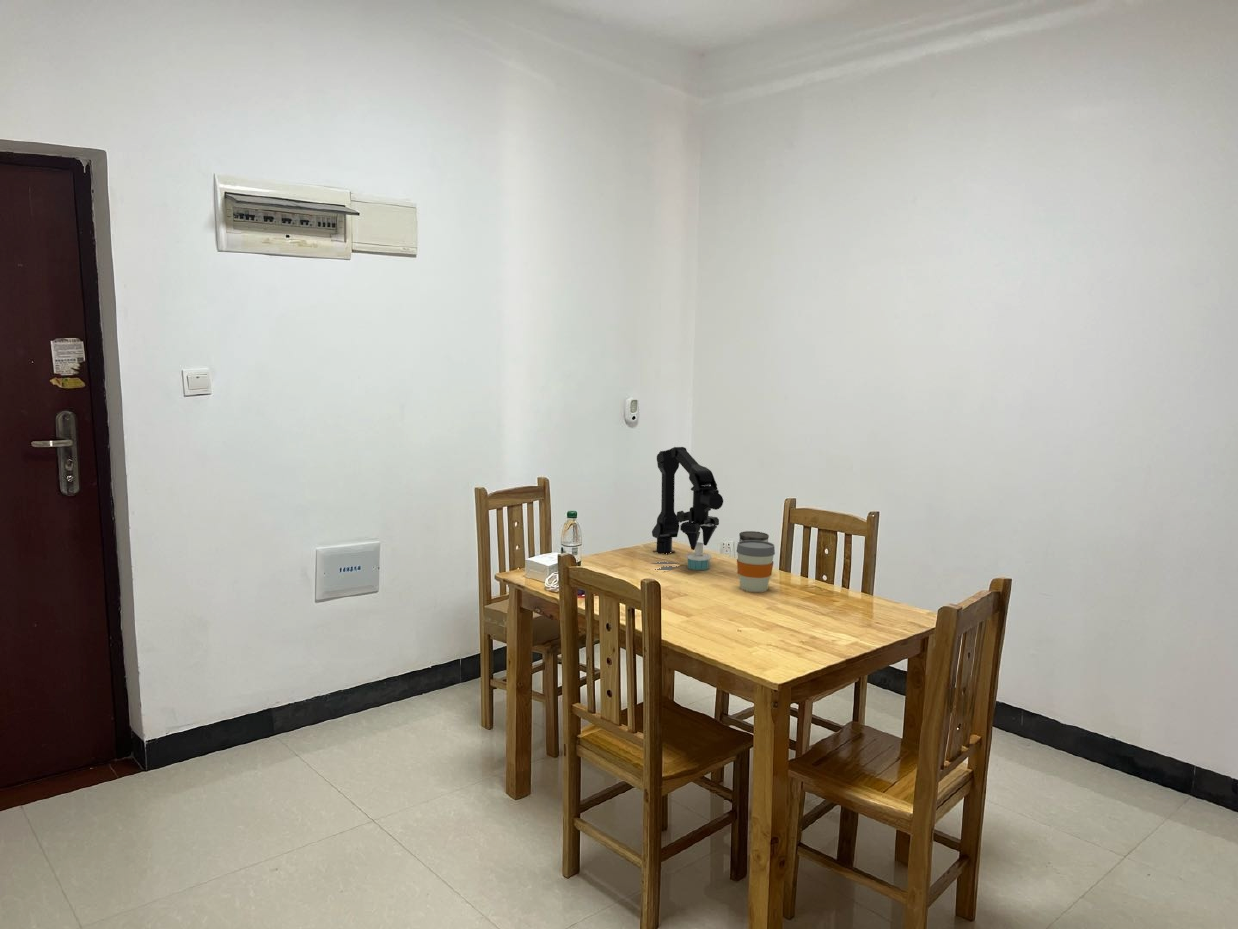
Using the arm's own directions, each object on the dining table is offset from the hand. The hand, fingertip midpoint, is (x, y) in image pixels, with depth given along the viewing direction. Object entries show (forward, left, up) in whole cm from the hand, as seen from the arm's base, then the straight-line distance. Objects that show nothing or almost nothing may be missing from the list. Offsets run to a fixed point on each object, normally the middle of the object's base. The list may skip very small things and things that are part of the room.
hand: (699, 547), depth 309 cm
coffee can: (-7, +18, -8) cm, 21 cm away
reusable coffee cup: (+11, +27, -8) cm, 30 cm away
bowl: (0, 0, -8) cm, 8 cm away
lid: (0, 0, -4) cm, 4 cm away
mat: (+7, -11, -8) cm, 15 cm away
